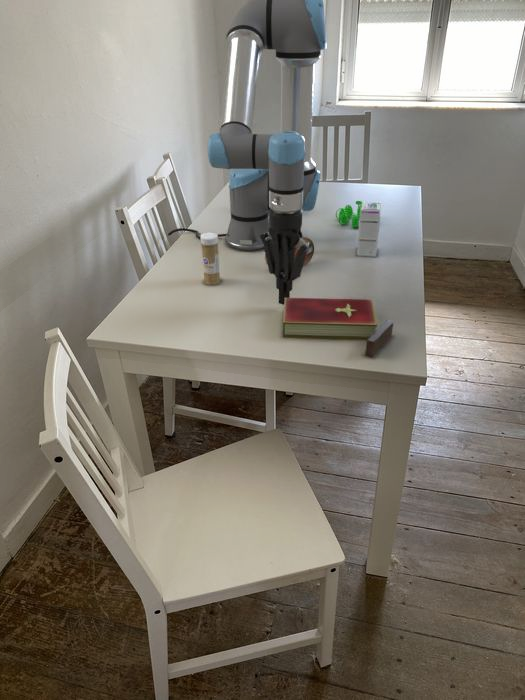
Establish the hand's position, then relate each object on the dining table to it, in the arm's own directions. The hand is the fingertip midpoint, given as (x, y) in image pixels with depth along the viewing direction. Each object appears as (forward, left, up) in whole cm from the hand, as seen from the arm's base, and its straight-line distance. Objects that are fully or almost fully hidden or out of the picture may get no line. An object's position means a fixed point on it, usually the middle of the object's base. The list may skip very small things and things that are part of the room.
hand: (284, 301), depth 131 cm
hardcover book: (+13, 0, -2) cm, 13 cm away
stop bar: (+27, -2, -2) cm, 27 cm away
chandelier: (-12, +63, -2) cm, 64 cm away
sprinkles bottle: (-24, +1, -2) cm, 25 cm away
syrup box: (+2, +42, -2) cm, 42 cm away
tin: (-12, +21, -2) cm, 25 cm away
